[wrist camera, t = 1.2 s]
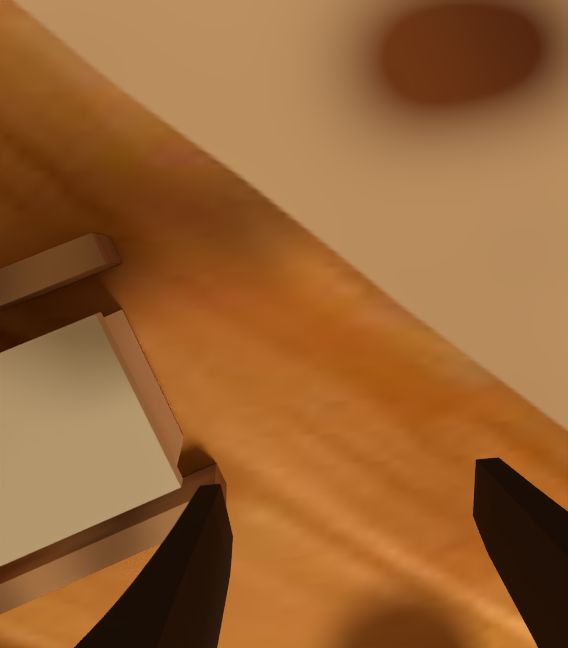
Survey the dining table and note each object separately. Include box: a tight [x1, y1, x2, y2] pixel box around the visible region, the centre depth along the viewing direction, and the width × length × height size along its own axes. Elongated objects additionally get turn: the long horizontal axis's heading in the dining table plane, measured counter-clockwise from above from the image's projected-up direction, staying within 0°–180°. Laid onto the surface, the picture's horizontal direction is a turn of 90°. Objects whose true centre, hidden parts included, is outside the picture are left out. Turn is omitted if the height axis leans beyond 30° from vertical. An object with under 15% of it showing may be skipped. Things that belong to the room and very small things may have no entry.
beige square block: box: [0, 310, 184, 566], centre depth 21 cm, size 9×9×5 cm
